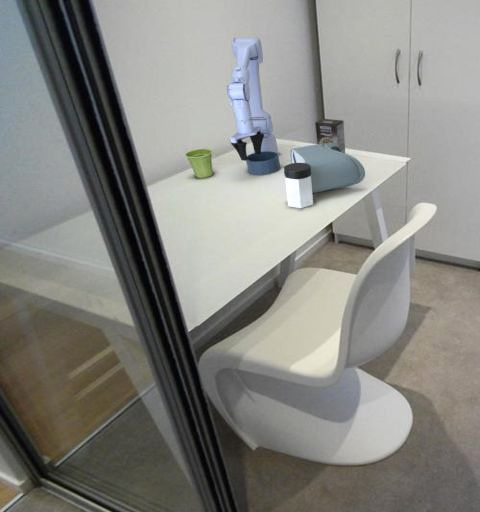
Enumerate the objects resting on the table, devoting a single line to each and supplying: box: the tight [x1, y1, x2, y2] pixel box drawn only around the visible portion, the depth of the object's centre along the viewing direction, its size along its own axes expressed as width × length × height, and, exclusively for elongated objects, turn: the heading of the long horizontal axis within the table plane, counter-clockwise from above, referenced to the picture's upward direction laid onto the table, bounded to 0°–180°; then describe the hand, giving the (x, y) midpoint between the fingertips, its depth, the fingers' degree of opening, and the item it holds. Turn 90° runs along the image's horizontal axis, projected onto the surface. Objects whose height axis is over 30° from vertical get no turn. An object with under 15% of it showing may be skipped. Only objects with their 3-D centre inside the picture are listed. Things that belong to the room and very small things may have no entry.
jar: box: [283, 162, 314, 209], centre depth 136 cm, size 9×8×12 cm
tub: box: [246, 151, 281, 176], centre depth 165 cm, size 12×12×5 cm
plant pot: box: [184, 148, 214, 179], centre depth 160 cm, size 9×9×9 cm
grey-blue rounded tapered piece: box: [289, 143, 366, 194], centre depth 149 cm, size 22×19×13 cm
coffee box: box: [314, 118, 346, 154], centre depth 167 cm, size 9×6×16 cm
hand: (251, 156), depth 159 cm, fingers open, 7 cm apart
